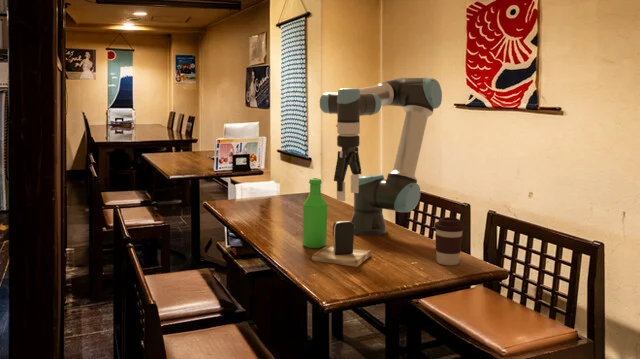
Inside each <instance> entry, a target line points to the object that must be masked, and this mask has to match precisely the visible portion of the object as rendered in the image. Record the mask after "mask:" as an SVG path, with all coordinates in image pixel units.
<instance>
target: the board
mask: <svg viewBox="0 0 640 359" xmlns="http://www.w3.org/2000/svg"><path fill="white" fill-rule="evenodd" d="M371 252H372V251H371V249H368V250H361V249H354V248H353V253H352V254H344V255H335V254H334V245H333V246H331V245H330V244H326V245H325V246H324V247H322V248H320V249H319V250H317V251H316V252H315V253H313V254H312V256H311V258H312V259H311V260H312V262H313V261H314V262H322V263H329V264H336V265H343V266H349V267H356V268H358V266H361V264H362V263H363V262H365V261H366V260H367V259H369V257H371V255H372V254H371Z"/></svg>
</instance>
